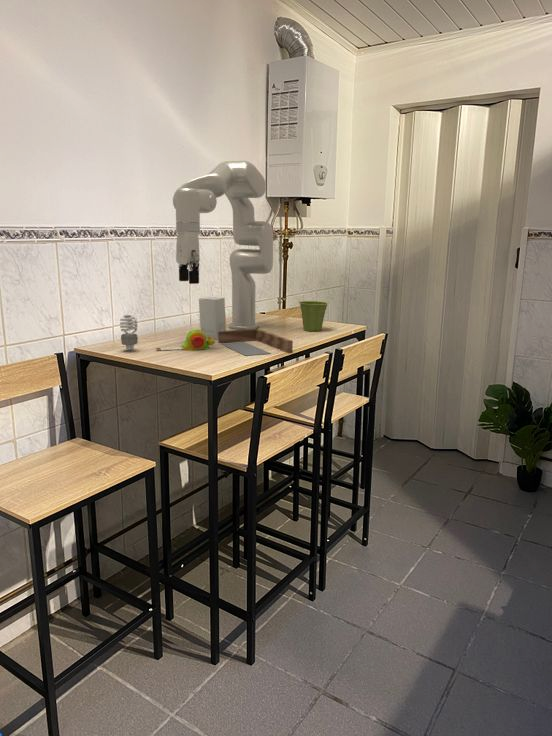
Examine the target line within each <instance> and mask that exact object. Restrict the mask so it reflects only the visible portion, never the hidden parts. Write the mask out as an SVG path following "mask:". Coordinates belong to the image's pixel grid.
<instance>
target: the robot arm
mask: <svg viewBox="0 0 552 736" xmlns="http://www.w3.org/2000/svg"><path fill="white" fill-rule="evenodd" d="M266 190H267V183H266V180H265V177H264V176H263V174H262V173H261V172H260V171H259V169H258V168H257V167H256V166H255V165H254V164H253V163H252V162H250V161H247V160H229V161H223V162H220V163H219V164H217V166H215V168H213V169H212V170H211V171H210V172H209V173H208V174H206V175H202V176H199V177H197V178H194V179H190V180H189V181H187V182H184V183H182V184H181V185H180V186H179V187H178V188H177V189H176V191H174V194H173V197H172V205H173V207H174V209H175V222H176V223H175V231H176V232H175V233H176V247H175V248H176V250H175V251H176V253H175V261H176V263H177V264H178V281H179V282H188V284H189V285H193V284H194V285H195V284H197V285H198V284H200V258H201V257H200V241H199V234H200V233H201V224H200V223H201V218H200V216H201V215H200V214H208V213H211V212H214V210H215V209H216V207H217V203H218V202H217V201H218V199H217V198H220V197H222V196H224V195H225V197H226V198H227V199H228V201H229V204H230V206H231V209H232V233H233V234H232V236H233V241H234V243H235V244H236V245H239V246H248V247H249V246H252V247H254V246H255V247H258V248H259V249H257V248H255V249H253V248H238V249H235V250H233V251H232V252H231V253H230V255H229V266H230V271H231V303H232V304H231V306H232V307H231V322H230V323H228V328H229V329H233V330H246V329H259V327H260V324H259V323H257V322H256V288H257V287H256V281H255V280H254V278H253V276H252V275H251V274H256V275H260V274H261V275H267V274H269V273H271V271H272V269H273V267H274V232H273V227H272V225H271V224H270V223H269V222H268V221H262V220H255V207H254V204H253V203H252V201H251V199H257V198H258V199H259V198H263V196H264V195H265V194H266Z"/></svg>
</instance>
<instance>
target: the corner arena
mask: <svg viewBox="0 0 552 736" xmlns="http://www.w3.org/2000/svg"><path fill="white" fill-rule="evenodd" d="M217 340H218V343H219V344H224V343H236V342H252V341H253V342H254V341H256V342H260V343H262V344H265V345H267V346H268V347H272V348H274V349H278V350H279V349H280V350H279V351H282V352H284V353H287V354H293V348H294V347H293V344H294V343H293V340H291V339H288V338H286V337H283V336H281V335H280V336H279V335H277V334H275V333H271V332H269V331H266V330H264V329H263V330H262V329H260V328H255V329H233V330H232V329H231V330H226V331H218V339H217Z"/></svg>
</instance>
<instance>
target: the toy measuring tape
mask: <svg viewBox="0 0 552 736" xmlns="http://www.w3.org/2000/svg"><path fill="white" fill-rule="evenodd" d="M214 343H215V339H213V338H212V337H211V336H209V338H206V335H205V334H204V333H203V332H202V331H201V330H200V329H192V330H190V331H189V332H188V333H187V334H186V337H185V341H184V343H183V344H182V345H181V346H182V347H181V346H180V347H174V348H169V349H165V348H163V351H178V350H183V351H200V350H209V349H210V346H213V345H214ZM155 349H156V351H157V352H160V351H162V349H161V346H160V345H159V346H156V347H155Z"/></svg>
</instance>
